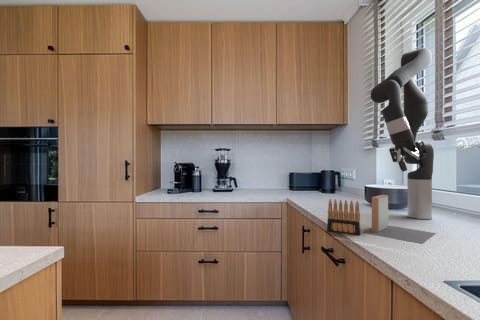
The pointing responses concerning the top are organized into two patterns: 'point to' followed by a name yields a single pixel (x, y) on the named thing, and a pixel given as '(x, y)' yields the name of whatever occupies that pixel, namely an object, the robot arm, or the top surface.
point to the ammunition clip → (343, 218)
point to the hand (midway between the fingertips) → (413, 169)
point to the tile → (379, 213)
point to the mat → (403, 234)
